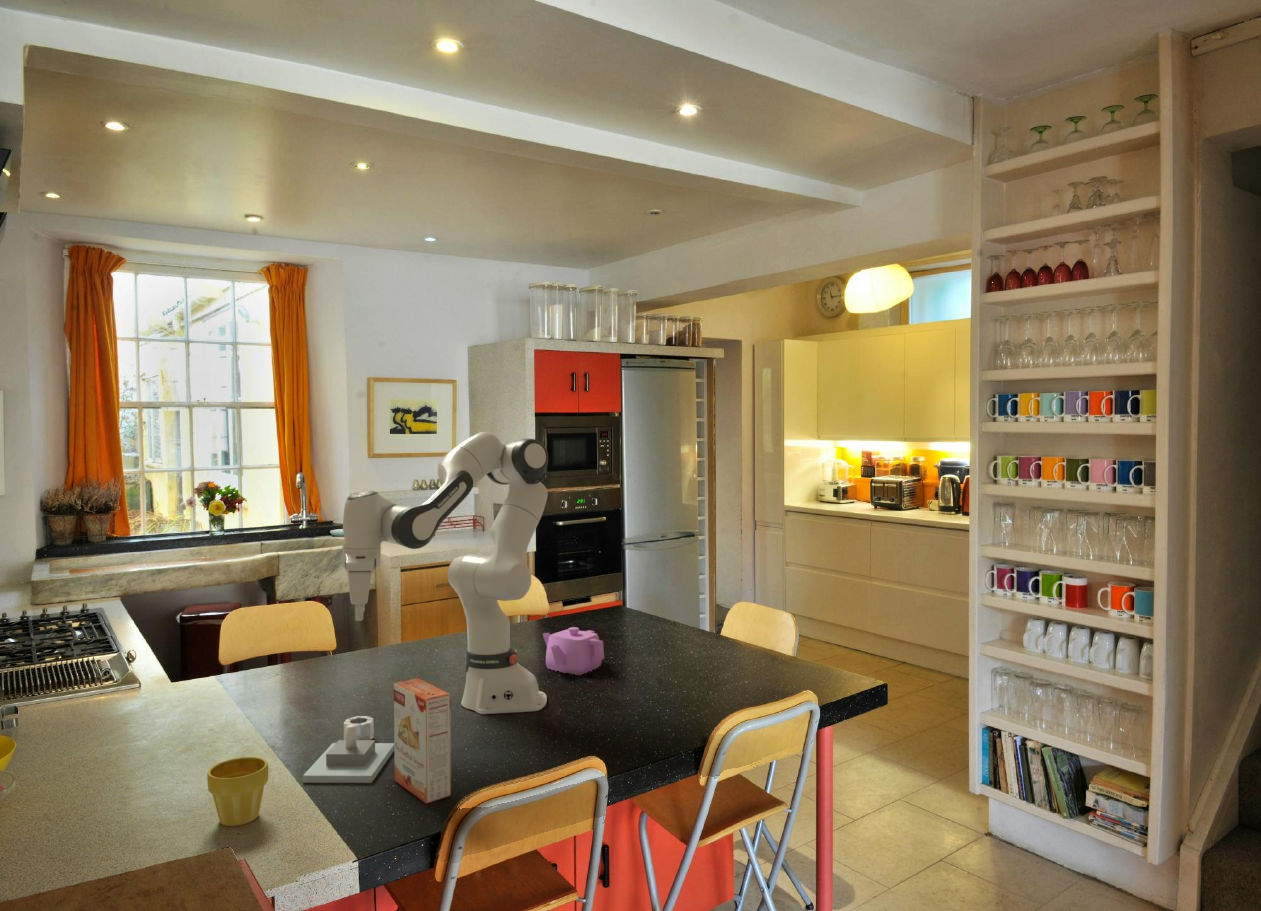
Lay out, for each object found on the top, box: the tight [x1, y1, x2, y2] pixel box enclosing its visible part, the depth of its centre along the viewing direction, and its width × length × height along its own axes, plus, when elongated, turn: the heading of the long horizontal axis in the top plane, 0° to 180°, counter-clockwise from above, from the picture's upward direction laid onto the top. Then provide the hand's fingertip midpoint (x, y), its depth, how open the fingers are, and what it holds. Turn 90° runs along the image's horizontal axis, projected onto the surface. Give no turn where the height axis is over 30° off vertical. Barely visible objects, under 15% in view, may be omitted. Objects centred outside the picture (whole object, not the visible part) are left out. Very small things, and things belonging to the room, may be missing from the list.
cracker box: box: [393, 677, 452, 804], centre depth 172 cm, size 14×6×21 cm, turn 41°
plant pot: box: [206, 756, 269, 827], centre depth 159 cm, size 10×10×10 cm
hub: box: [343, 715, 375, 740], centre depth 199 cm, size 6×6×4 cm
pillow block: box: [302, 725, 394, 784], centre depth 184 cm, size 14×18×8 cm
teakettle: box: [542, 626, 605, 676], centre depth 259 cm, size 17×17×12 cm
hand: (359, 616), depth 205 cm, fingers open, 8 cm apart
